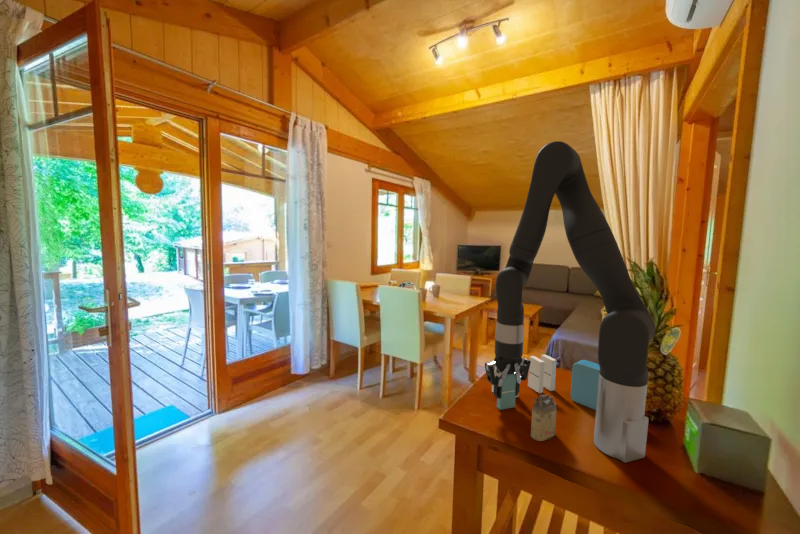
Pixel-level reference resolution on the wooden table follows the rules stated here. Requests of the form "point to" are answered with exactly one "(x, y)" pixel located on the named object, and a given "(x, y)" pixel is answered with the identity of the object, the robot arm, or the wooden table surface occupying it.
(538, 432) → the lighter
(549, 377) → the domino
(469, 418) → the wooden table surface
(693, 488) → the wooden table surface
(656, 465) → the wooden table surface
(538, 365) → the domino
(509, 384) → the domino
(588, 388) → the blue flat block
